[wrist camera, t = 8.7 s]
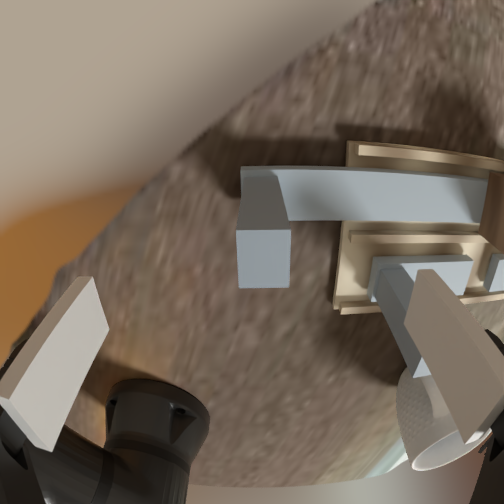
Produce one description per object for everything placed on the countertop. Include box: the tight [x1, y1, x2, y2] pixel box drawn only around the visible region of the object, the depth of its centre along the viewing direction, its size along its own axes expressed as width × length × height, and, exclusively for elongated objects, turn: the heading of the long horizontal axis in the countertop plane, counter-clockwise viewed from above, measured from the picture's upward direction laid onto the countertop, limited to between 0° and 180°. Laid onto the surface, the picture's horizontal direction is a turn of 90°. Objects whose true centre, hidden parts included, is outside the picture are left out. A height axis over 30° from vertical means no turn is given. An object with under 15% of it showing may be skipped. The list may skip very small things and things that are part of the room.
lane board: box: [332, 140, 504, 314], centre depth 26 cm, size 34×16×2 cm, turn 91°
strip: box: [236, 166, 488, 288], centre depth 19 cm, size 30×4×11 cm, turn 91°
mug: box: [396, 367, 492, 471], centre depth 30 cm, size 15×11×13 cm
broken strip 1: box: [367, 254, 474, 378], centre depth 23 cm, size 11×4×11 cm, turn 91°
